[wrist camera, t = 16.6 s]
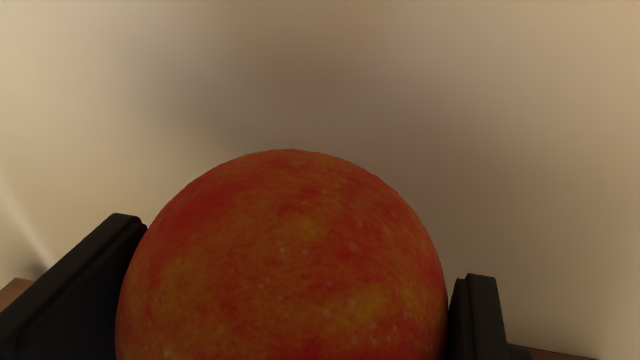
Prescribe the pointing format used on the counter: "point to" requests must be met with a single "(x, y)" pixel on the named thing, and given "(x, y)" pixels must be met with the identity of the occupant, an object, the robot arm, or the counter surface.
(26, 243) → the counter surface
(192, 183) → the fruit
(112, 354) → the robot arm
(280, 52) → the counter surface
